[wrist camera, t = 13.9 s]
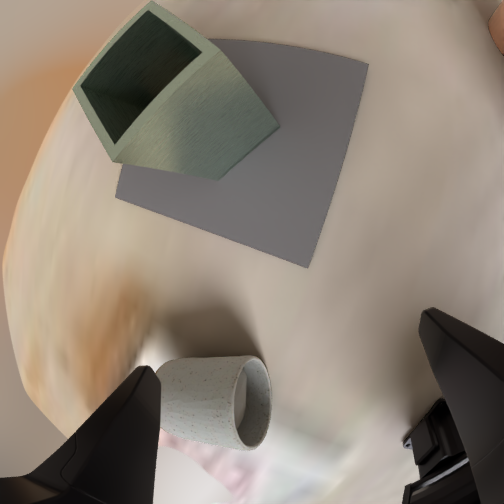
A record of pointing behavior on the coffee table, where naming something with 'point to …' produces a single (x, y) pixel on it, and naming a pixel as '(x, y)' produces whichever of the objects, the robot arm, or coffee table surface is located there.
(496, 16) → the pink rounded cylinder
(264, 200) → the mat
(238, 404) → the ceramic mug
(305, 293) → the coffee table surface
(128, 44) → the tin
